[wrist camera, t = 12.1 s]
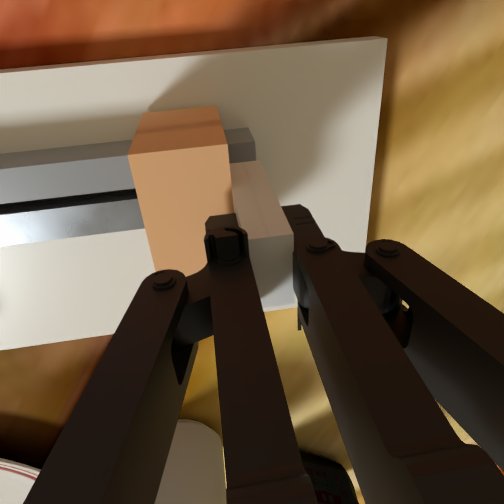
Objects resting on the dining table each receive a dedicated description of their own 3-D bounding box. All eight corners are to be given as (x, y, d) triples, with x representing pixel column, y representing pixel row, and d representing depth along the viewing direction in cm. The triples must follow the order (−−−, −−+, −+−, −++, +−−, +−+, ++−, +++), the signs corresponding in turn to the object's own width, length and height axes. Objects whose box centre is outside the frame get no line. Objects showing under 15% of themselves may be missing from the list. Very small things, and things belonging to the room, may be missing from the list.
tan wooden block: (216, 105, 19) (227, 144, 14) (231, 242, 23) (244, 311, 18) (142, 112, 19) (127, 155, 14) (171, 250, 23) (167, 322, 18)
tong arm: (251, 166, 21) (258, 184, 19) (253, 194, 22) (260, 213, 20) (-87, 205, 20) (-118, 228, 18) (-71, 233, 21) (-98, 258, 19)
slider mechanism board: (375, 35, 20) (444, 49, 15) (352, 284, 29) (391, 350, 23) (-234, 90, 18) (-417, 129, 12) (-60, 343, 27) (-123, 432, 21)
